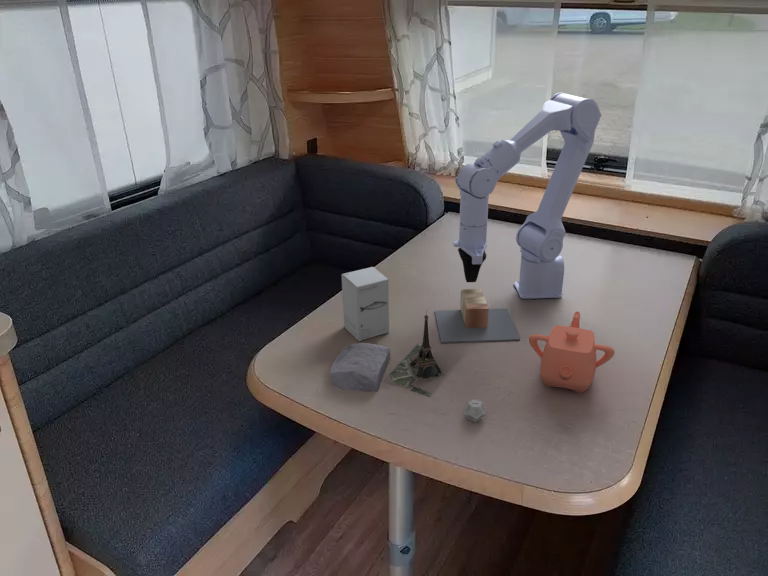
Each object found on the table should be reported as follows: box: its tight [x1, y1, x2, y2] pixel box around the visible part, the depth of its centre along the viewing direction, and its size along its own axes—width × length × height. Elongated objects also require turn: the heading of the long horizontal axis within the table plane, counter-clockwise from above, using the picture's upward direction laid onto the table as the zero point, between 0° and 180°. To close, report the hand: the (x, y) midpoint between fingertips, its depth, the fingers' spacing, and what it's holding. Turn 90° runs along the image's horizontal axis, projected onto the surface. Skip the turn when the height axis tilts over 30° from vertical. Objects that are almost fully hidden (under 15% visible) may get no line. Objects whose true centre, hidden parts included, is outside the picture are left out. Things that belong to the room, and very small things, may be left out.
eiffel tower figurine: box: [389, 309, 445, 397], centre depth 116 cm, size 15×10×13 cm
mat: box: [434, 307, 521, 344], centre depth 132 cm, size 16×13×1 cm
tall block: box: [459, 288, 490, 328], centre depth 134 cm, size 4×4×9 cm
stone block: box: [329, 342, 391, 392], centre depth 117 cm, size 12×5×10 cm
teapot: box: [528, 311, 616, 394], centre depth 112 cm, size 14×12×10 cm
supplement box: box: [340, 266, 390, 342], centre depth 129 cm, size 7×7×13 cm
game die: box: [463, 398, 487, 423], centre depth 105 cm, size 4×4×3 cm
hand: (470, 280), depth 137 cm, fingers closed
